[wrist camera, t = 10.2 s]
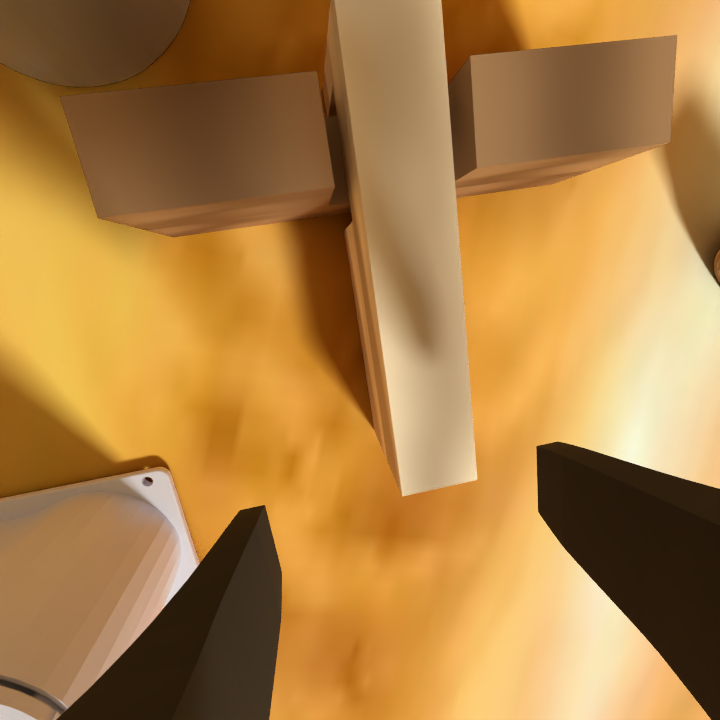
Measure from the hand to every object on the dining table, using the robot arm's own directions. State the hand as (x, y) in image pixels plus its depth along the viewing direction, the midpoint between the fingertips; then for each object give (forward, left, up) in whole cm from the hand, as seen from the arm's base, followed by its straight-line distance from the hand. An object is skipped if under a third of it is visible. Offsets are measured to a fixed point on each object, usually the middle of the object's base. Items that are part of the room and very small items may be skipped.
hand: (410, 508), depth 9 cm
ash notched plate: (+2, +6, -10) cm, 12 cm away
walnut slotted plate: (+2, +10, -10) cm, 14 cm away
